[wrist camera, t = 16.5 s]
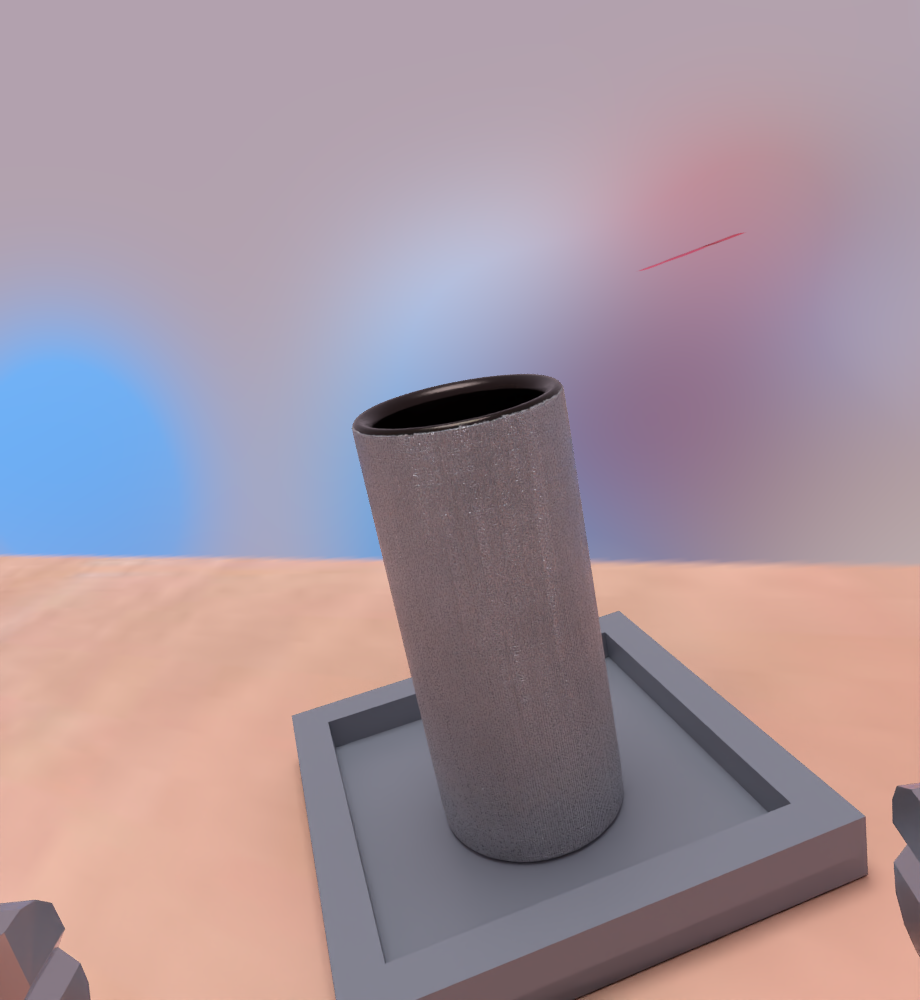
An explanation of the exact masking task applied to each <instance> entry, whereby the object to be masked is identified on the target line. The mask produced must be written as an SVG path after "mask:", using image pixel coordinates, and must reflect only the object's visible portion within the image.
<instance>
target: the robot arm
mask: <svg viewBox="0 0 920 1000" xmlns="http://www.w3.org/2000/svg"><path fill="white" fill-rule="evenodd" d="M892 809H893V824H894V825H895V827H896V828H897V830H898V831H899V833H900V834H901V836H902V837H903V839H904V840H905V842H906V843H907V846H906V847H905V848H904V850H903V851H902V852H901V853H900V855H899V856H898V857H897V859H896V860H895V861H894V873H895V888H896V895H897V899H898V902H899V906H900V910H901V913H902V917H903V921H904V925H905V927H906V929H907V931H908V934H909V936H910V938H911V940H912V943H913V945H914V947H915V950H916V951H917V953H918V955H919V957H920V783H914V784H907V785H899V786H897V787H896V790H895V793H894V796H893V799H892ZM64 930H65V928H64V926H63V924H62V922H61V920H60V918H59V916H58V914H57V912H56V910H55V908H54V906H53V904H52V903H49V902H44V901H39V900H29V901H20V902H10V903H1V904H0V1000H90V992H89V983H88V980H87V978H86V975H85V973H84V971H83V968H82V966H81V964H80V963H79V962H78V961H77V960H75V959H74V958H72V957H71V956H70V955H68V954H67V953H65V952H64V951H63V950H61V949H60V948H58V946H59V944H60V941H61V938H62V935H63V933H64Z"/></svg>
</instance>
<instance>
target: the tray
mask: <svg viewBox="0 0 920 1000" xmlns="http://www.w3.org/2000/svg"><path fill="white" fill-rule="evenodd" d="M599 623H600V629H601V636H602V642H603V649H604V655H605V662H606V669H607V675H608V682H609V688H610V695H611V701H612V708H613V714H614V721H615V728H616V734H617V741H618V747H619V754H620V760H621V767H622V780H623V800H622V804H621V807H620V809H619V812H618V814H617V816H616V817H615V819H614V820H613V821H612V823H611V824H610V825H609V826H608V827H607V828H606V830H605V831H604V832H603V833H602V834H601V835H599V836H598V837H597V838H596V839H594V840H593V841H591V842H590V843H588V844H587V845H585V846H583V847H581V848H580V849H578V850H576V851H573V852H571V853H568V854H565V855H562V856H559V857H556V858H552V859H548V860H542V861H532V862H512V861H505V860H499V859H495V858H491V857H488V856H485V855H483V854H481V853H478V852H476V851H474V850H473V849H471V848H469V847H468V846H466V845H465V844H464V843H462V842H461V841H460V840H459V839H458V838H457V836H456V835H455V834H454V833H453V831H452V830H451V828H450V826H449V823H448V820H447V817H446V814H445V811H444V808H443V804H442V801H441V797H440V793H439V789H438V785H437V780H436V776H435V772H434V768H433V764H432V760H431V756H430V751H429V747H428V743H427V739H426V735H425V731H424V726H423V722H422V718H421V714H420V710H419V706H418V702H417V697H416V693H415V689H414V685H413V681H412V678H408V679H405V680H402V681H399V682H396V683H393V684H390V685H387V686H383V687H380V688H377V689H374V690H371V691H368V692H365V693H362V694H358V695H355V696H352V697H349V698H346V699H343V700H340V701H337V702H333V703H330V704H327V705H324V706H321V707H318V708H315V709H312V710H309V711H305V712H302V713H299V714H296V715H293V716H292V720H293V726H294V733H295V739H296V745H297V752H298V758H299V765H300V771H301V778H302V784H303V791H304V797H305V803H306V810H307V816H308V823H309V829H310V836H311V842H312V848H313V855H314V861H315V868H316V874H317V881H318V887H319V893H320V900H321V906H322V913H323V919H324V926H325V932H326V939H327V945H328V951H329V958H330V964H331V971H332V977H333V984H334V990H335V996H336V1000H574V999H576V998H578V997H581V996H583V995H585V994H588V993H590V992H592V991H595V990H597V989H600V988H602V987H604V986H607V985H609V984H611V983H614V982H616V981H618V980H621V979H623V978H625V977H628V976H630V975H632V974H635V973H637V972H639V971H642V970H644V969H647V968H649V967H651V966H654V965H656V964H658V963H661V962H663V961H665V960H668V959H670V958H672V957H675V956H677V955H679V954H682V953H684V952H686V951H689V950H691V949H693V948H696V947H698V946H701V945H703V944H705V943H708V942H710V941H712V940H715V939H717V938H719V937H722V936H724V935H726V934H729V933H731V932H733V931H736V930H738V929H740V928H743V927H745V926H748V925H750V924H752V923H755V922H757V921H759V920H762V919H764V918H766V917H769V916H771V915H773V914H776V913H778V912H780V911H783V910H785V909H787V908H790V907H792V906H794V905H797V904H799V903H802V902H804V901H806V900H809V899H811V898H813V897H816V896H818V895H820V894H823V893H825V892H827V891H830V890H832V889H834V888H837V887H839V886H841V885H844V884H846V883H849V882H851V881H853V880H856V879H858V878H860V877H863V876H865V875H867V874H868V867H867V842H866V817H865V816H864V815H863V814H862V813H861V812H860V811H858V810H857V809H856V808H855V807H854V806H852V805H851V804H850V803H849V802H848V801H846V800H845V799H844V798H843V797H842V796H840V795H839V794H838V793H837V792H836V791H834V790H833V789H832V788H831V787H830V786H828V785H827V784H826V783H825V782H824V781H822V780H821V779H820V778H819V777H818V776H816V775H815V774H814V773H813V772H812V771H810V770H809V769H808V768H807V767H806V766H804V765H803V764H802V763H801V762H800V761H798V760H797V759H796V758H795V757H794V756H792V755H791V754H790V753H789V752H788V751H786V750H785V749H784V748H783V747H782V746H780V745H779V744H778V743H777V742H776V741H774V740H773V739H772V738H771V737H770V736H768V735H767V734H766V733H765V732H764V731H762V730H761V729H760V728H759V727H758V726H756V725H755V724H754V723H753V722H752V721H750V720H749V719H748V718H747V717H746V716H744V715H743V714H742V713H741V712H740V711H738V710H737V709H736V708H735V707H734V706H732V705H731V704H730V703H729V702H728V701H726V700H725V699H724V698H723V697H722V696H720V695H719V694H718V693H717V692H716V691H714V690H713V689H712V688H711V687H710V686H708V685H707V684H706V683H705V682H704V681H702V680H701V679H700V678H699V677H698V676H696V675H695V674H694V673H693V672H692V671H690V670H689V669H688V668H687V667H686V666H684V665H683V664H682V663H681V662H680V661H678V660H677V659H676V658H675V657H674V656H672V655H671V654H670V653H669V652H668V651H666V650H665V649H664V648H663V647H662V646H660V645H659V644H658V643H657V642H656V641H654V640H653V639H652V638H651V637H650V636H648V635H647V634H646V633H645V632H644V631H642V630H641V629H640V628H639V627H638V626H636V625H635V624H634V623H633V622H632V621H630V620H629V619H628V618H627V617H626V616H624V615H623V614H622V613H621V612H620V611H618V612H614V613H611V614H608V615H605V616H602V617H599Z"/></svg>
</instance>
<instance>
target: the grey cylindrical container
mask: <svg viewBox="0 0 920 1000" xmlns="http://www.w3.org/2000/svg"><path fill="white" fill-rule="evenodd" d="M352 430H353V435H354V439H355V444H356V448H357V452H358V456H359V461H360V465H361V469H362V473H363V477H364V482H365V486H366V490H367V494H368V497H369V502H370V506H371V510H372V515H373V519H374V523H375V527H376V531H377V536H378V540H379V544H380V548H381V552H382V556H383V560H384V565H385V569H386V573H387V577H388V581H389V585H390V589H391V594H392V598H393V602H394V606H395V610H396V614H397V619H398V623H399V627H400V631H401V635H402V639H403V643H404V648H405V652H406V656H407V660H408V664H409V668H410V672H411V677H412V681H413V685H414V689H415V693H416V697H417V702H418V706H419V710H420V714H421V718H422V722H423V726H424V731H425V735H426V739H427V743H428V747H429V751H430V756H431V760H432V764H433V768H434V772H435V776H436V780H437V785H438V789H439V793H440V797H441V801H442V804H443V808H444V811H445V814H446V817H447V820H448V823H449V826H450V828H451V830H452V831H453V833H454V834H455V835H456V836H457V838H458V839H459V840H460V841H461V842H462V843H464V844H465V845H466V846H468V847H469V848H471V849H473V850H474V851H476V852H478V853H481V854H483V855H485V856H488V857H491V858H495V859H499V860H505V861H512V862H532V861H542V860H548V859H552V858H556V857H559V856H562V855H565V854H568V853H571V852H573V851H576V850H578V849H580V848H581V847H583V846H585V845H587V844H588V843H590V842H591V841H593V840H594V839H596V838H597V837H598V836H599V835H601V834H602V833H603V832H604V831H605V830H606V828H607V827H608V826H609V825H610V824H611V823H612V821H613V820H614V819H615V817H616V816H617V814H618V812H619V809H620V807H621V804H622V800H623V780H622V767H621V760H620V754H619V747H618V741H617V734H616V728H615V721H614V714H613V708H612V701H611V695H610V688H609V682H608V675H607V669H606V662H605V655H604V649H603V642H602V636H601V629H600V623H599V616H598V610H597V603H596V597H595V590H594V583H593V577H592V570H591V564H590V557H589V551H588V544H587V538H586V531H585V524H584V518H583V511H582V505H581V499H580V492H579V485H578V479H577V472H576V466H575V459H574V452H573V446H572V439H571V433H570V427H569V420H568V413H567V407H566V400H565V394H564V389H563V386H562V384H561V383H560V382H559V381H558V380H556V379H555V378H552V377H549V376H544V375H536V374H515V375H500V376H490V377H483V378H476V379H469V380H463V381H458V382H453V383H448V384H443V385H439V386H434V387H431V388H426V389H423V390H419V391H415V392H412V393H409V394H405V395H402V396H399V397H396V398H393V399H390V400H388V401H385V402H383V403H380V404H378V405H376V406H374V407H372V408H370V409H368V410H366V411H365V412H363V413H362V414H360V415H359V416H358V417H357V418H356V420H355V421H354V423H353V427H352Z"/></svg>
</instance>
